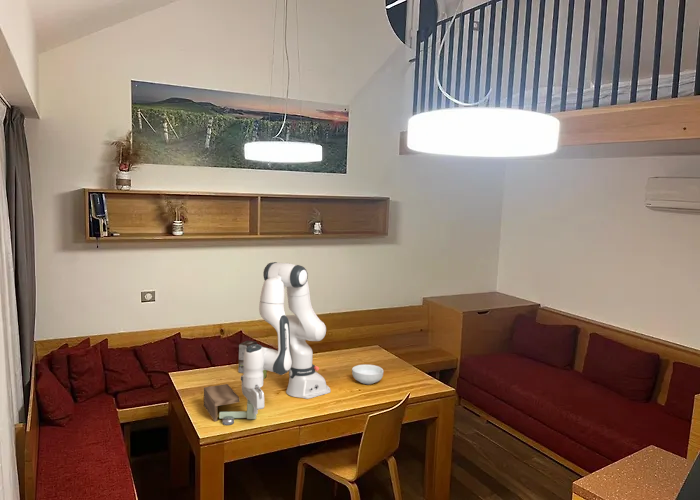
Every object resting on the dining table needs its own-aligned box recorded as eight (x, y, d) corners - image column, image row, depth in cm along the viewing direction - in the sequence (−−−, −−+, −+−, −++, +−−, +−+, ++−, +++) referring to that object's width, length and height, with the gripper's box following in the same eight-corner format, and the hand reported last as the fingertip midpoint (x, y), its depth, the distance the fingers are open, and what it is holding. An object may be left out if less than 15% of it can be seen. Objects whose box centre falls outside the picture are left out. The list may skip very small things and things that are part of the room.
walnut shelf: (227, 402, 265) (227, 384, 263) (239, 416, 249) (239, 397, 248) (203, 406, 259) (203, 387, 258) (214, 421, 243) (214, 402, 242)
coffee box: (248, 374, 302) (248, 345, 300) (238, 372, 304) (238, 344, 302) (256, 369, 311) (257, 341, 308) (247, 367, 313) (247, 339, 311)
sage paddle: (255, 414, 250) (256, 400, 249) (256, 418, 246) (256, 404, 245) (219, 415, 247) (219, 400, 246) (219, 419, 243) (219, 404, 242)
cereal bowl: (387, 379, 302) (388, 367, 302) (375, 389, 287) (376, 376, 287) (359, 374, 309) (359, 362, 309) (346, 383, 294) (346, 370, 294)
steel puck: (233, 420, 246) (233, 415, 245) (234, 425, 241) (234, 420, 241) (222, 420, 244) (222, 416, 244) (222, 425, 240) (222, 421, 239)
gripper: (268, 388, 238) (267, 419, 240) (252, 373, 256) (252, 401, 258) (254, 390, 235) (253, 421, 237) (239, 375, 253) (238, 403, 255)
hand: (252, 411), depth 248 cm, fingers closed on sage paddle, 5 cm apart
